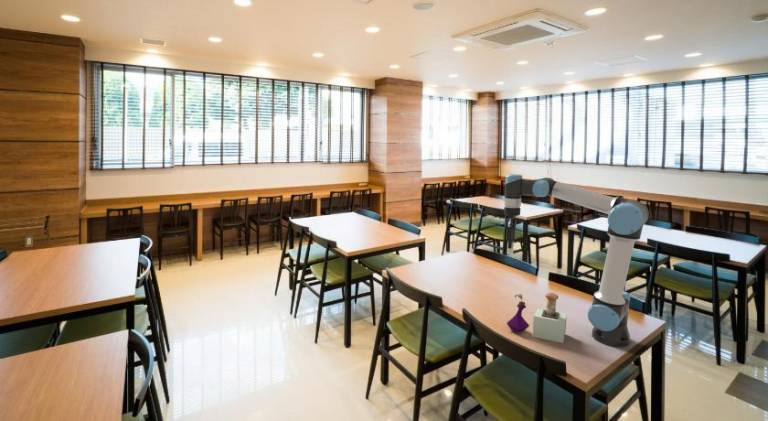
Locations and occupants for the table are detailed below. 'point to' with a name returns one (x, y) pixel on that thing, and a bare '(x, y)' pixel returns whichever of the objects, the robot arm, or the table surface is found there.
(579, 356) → the table surface
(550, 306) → the peg
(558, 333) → the socket block
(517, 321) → the perfume bottle
